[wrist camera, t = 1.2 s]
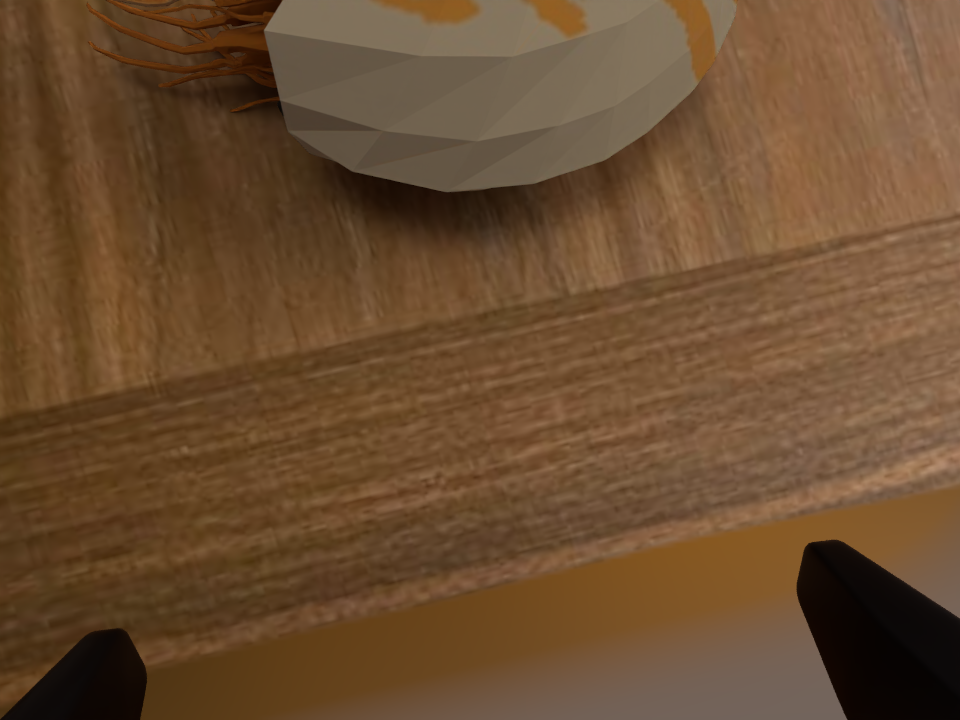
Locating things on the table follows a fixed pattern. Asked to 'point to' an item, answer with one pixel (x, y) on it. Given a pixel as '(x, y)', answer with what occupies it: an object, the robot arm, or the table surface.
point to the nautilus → (458, 77)
